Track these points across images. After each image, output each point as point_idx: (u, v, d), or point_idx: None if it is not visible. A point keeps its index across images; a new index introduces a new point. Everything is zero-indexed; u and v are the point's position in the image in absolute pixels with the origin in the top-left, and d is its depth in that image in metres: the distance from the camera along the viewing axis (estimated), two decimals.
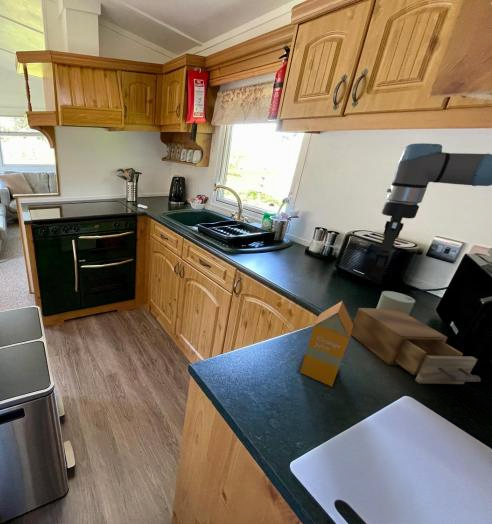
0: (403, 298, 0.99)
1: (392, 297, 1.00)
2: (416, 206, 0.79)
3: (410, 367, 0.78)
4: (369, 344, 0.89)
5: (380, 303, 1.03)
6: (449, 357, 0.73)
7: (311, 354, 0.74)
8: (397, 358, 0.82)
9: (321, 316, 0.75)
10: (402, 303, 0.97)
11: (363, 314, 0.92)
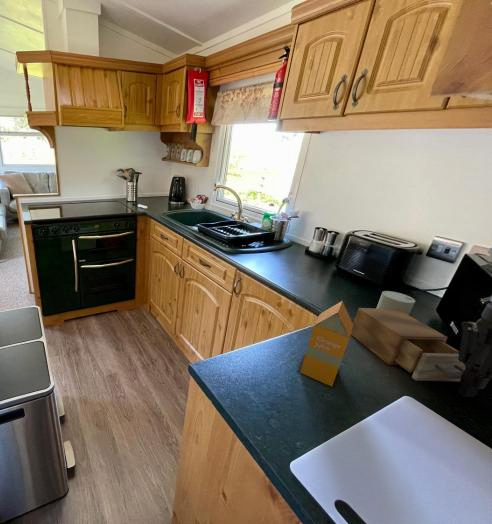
0: (403, 298, 0.99)
1: (392, 297, 1.00)
2: None
3: (407, 364, 0.79)
4: (369, 344, 0.89)
5: (380, 303, 1.03)
6: (445, 354, 0.74)
7: (311, 354, 0.74)
8: None
9: (321, 316, 0.75)
10: (402, 303, 0.97)
11: (363, 314, 0.92)
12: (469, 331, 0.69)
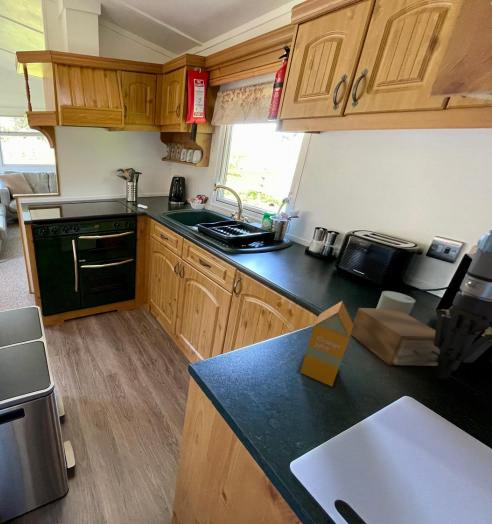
0: (403, 298, 0.99)
1: (392, 297, 1.00)
2: None
3: None
4: (369, 344, 0.89)
5: (380, 303, 1.03)
6: (422, 340, 0.79)
7: (311, 354, 0.74)
8: None
9: (321, 316, 0.75)
10: (402, 303, 0.97)
11: (363, 314, 0.92)
12: (443, 318, 0.75)
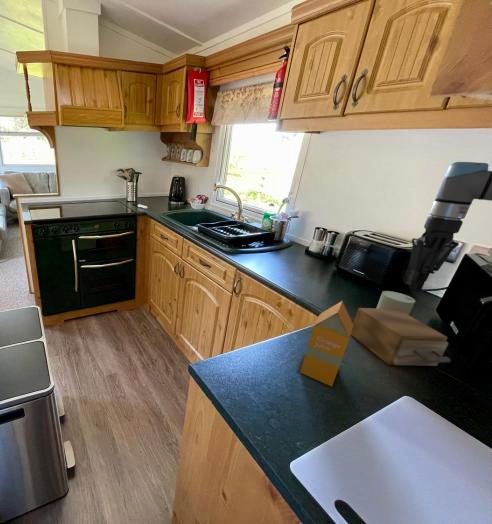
0: (403, 298, 0.99)
1: (392, 297, 1.00)
2: None
3: None
4: (369, 344, 0.89)
5: (380, 303, 1.03)
6: (422, 340, 0.79)
7: (311, 354, 0.74)
8: None
9: (321, 316, 0.75)
10: (402, 303, 0.97)
11: (363, 314, 0.92)
12: None
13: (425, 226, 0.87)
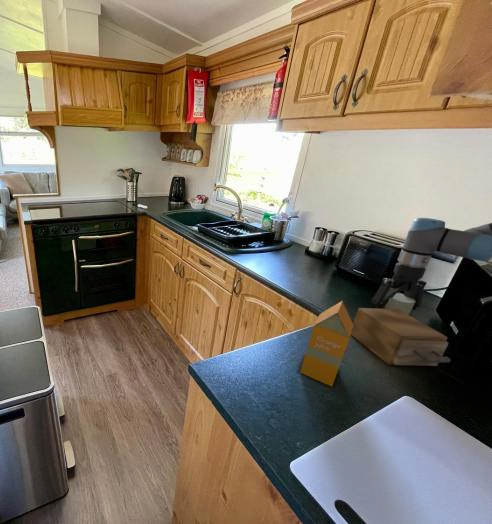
0: (403, 298, 0.99)
1: None
2: None
3: None
4: (369, 344, 0.89)
5: None
6: (422, 340, 0.79)
7: (311, 354, 0.74)
8: None
9: (321, 316, 0.75)
10: (402, 303, 0.97)
11: (363, 314, 0.92)
12: None
13: (394, 271, 0.99)
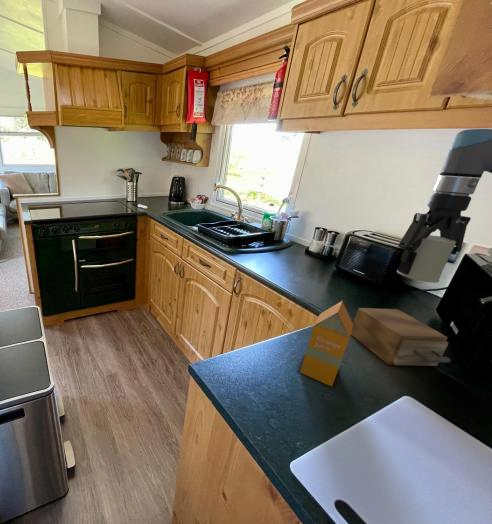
0: (440, 239, 0.79)
1: (426, 238, 0.79)
2: None
3: None
4: (369, 344, 0.89)
5: None
6: (422, 340, 0.79)
7: (311, 354, 0.74)
8: None
9: (321, 316, 0.75)
10: (440, 243, 0.76)
11: (363, 314, 0.92)
12: None
13: (429, 204, 0.78)
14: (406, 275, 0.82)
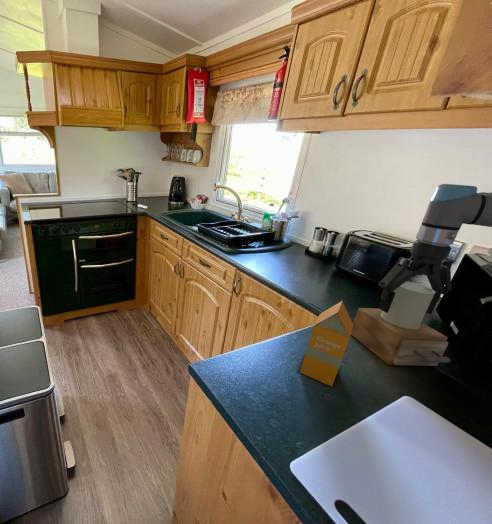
0: (420, 288, 0.82)
1: (407, 287, 0.82)
2: None
3: None
4: (369, 344, 0.89)
5: None
6: (422, 340, 0.79)
7: (311, 354, 0.74)
8: None
9: (321, 316, 0.75)
10: (419, 294, 0.80)
11: (363, 314, 0.92)
12: None
13: (411, 251, 0.81)
14: (389, 321, 0.86)
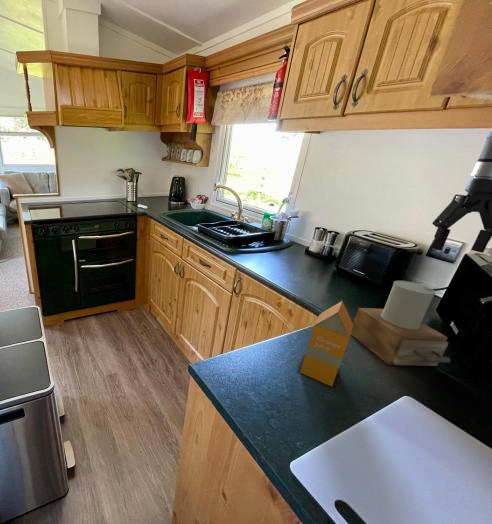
0: (420, 288, 0.82)
1: (407, 287, 0.82)
2: None
3: None
4: (369, 344, 0.89)
5: (392, 295, 0.85)
6: (422, 340, 0.79)
7: (311, 354, 0.74)
8: None
9: (321, 316, 0.75)
10: (419, 294, 0.80)
11: (363, 314, 0.92)
12: None
13: (467, 189, 0.84)
14: (389, 321, 0.86)
